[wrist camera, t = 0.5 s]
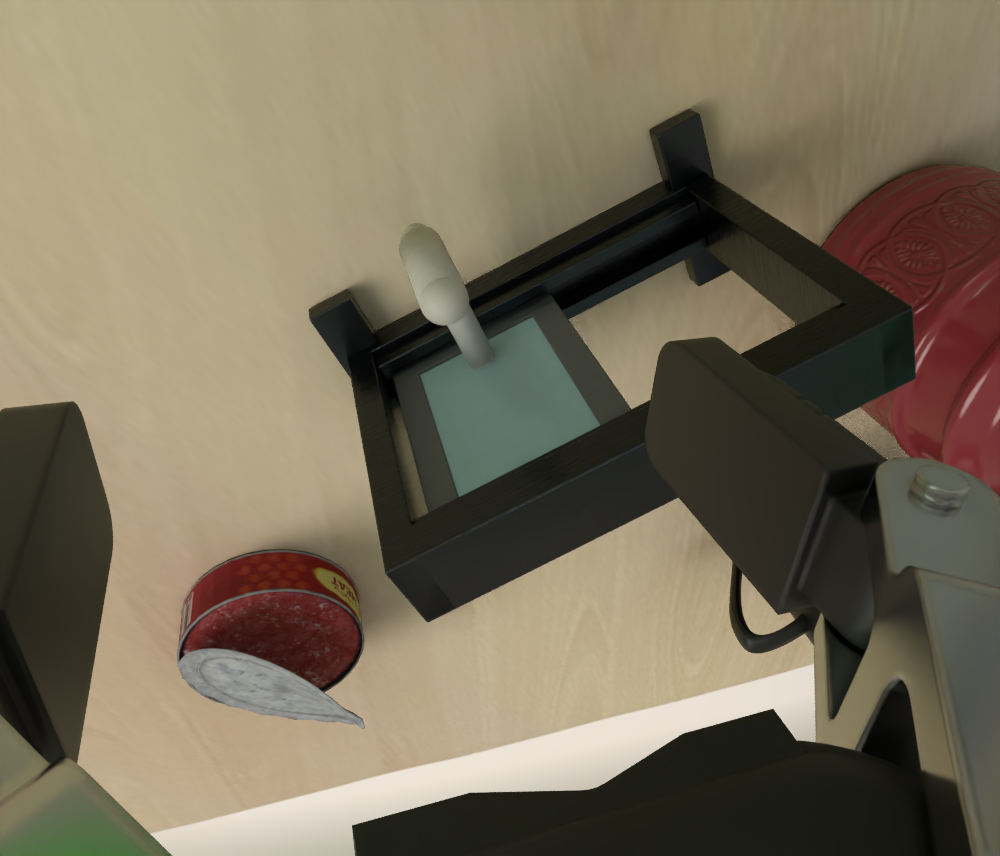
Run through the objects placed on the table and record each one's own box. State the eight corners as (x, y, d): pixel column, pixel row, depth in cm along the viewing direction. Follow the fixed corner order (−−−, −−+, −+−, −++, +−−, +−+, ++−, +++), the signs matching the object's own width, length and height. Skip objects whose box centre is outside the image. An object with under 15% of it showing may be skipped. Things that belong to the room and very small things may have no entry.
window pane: (488, 151, 29) (581, 261, 20) (552, 300, 34) (649, 440, 25) (309, 246, 29) (327, 392, 21) (396, 380, 34) (441, 545, 25)
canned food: (341, 582, 49) (363, 740, 45) (176, 605, 45) (185, 780, 41) (371, 522, 40) (403, 714, 36) (168, 544, 36) (178, 762, 32)
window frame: (689, 107, 32) (924, 229, 21) (725, 260, 37) (930, 426, 26) (308, 309, 33) (331, 532, 22) (393, 431, 38) (448, 664, 26)
